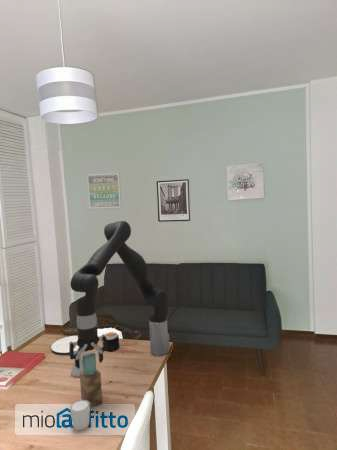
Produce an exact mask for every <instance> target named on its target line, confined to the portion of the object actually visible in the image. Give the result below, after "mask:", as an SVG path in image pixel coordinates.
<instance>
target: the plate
mask: <svg viewBox="0 0 337 450" xmlns="http://www.w3.org/2000/svg"><path fill="white" fill-rule="evenodd" d="M77 340H78V335H70V336H66V337H62V338H59V339H57V340H56V341H54V342H53V343H52V344H51V347H50V349H51V351H53V352H54V353H57V354H69V343H70V342H77ZM78 348H79V346H78V345H76V347H75V348H74V352H76V351H77V350H78Z"/></svg>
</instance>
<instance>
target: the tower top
mask: <svg viewBox="0 0 337 450" xmlns="http://www.w3.org/2000/svg"><path fill="white" fill-rule="evenodd" d="M79 379H80V380H79V382H80V383H79V385H81V386H80V389H81V388H82V389H83V390H84V391H85V392H86V393H87V394H88V393H90V392H92V391H94V390H97V389H99V388H101V389H102V373H101V371H99V370H98V369H97V368H96V374H94V375H92V376H84V375H83V371H82V372H80V377H79Z"/></svg>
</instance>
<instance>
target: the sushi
mask: <svg viewBox="0 0 337 450" xmlns="http://www.w3.org/2000/svg"><path fill="white" fill-rule="evenodd" d="M104 335H105V337H106V341H107V351H106V352H108V353H113V352H116V351H118V350H119V349H120V337H119V335H120V334H118V333H117V332H112V331H110V332H107V333H106V332H105V334H104Z"/></svg>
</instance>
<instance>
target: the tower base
mask: <svg viewBox="0 0 337 450" xmlns="http://www.w3.org/2000/svg"><path fill="white" fill-rule="evenodd" d="M79 385H80V384H79ZM102 390H103V389H102V387H101V388H99V389H97V390H94V391H92V392H90V393H88V394H87V393H86V392H85V391H84V390H83V389H82V388H81V385H80V398H81V399H80V400H87V401H89V402H90V409H91V408H94V407H97V406H100V405H103V392H102Z"/></svg>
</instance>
